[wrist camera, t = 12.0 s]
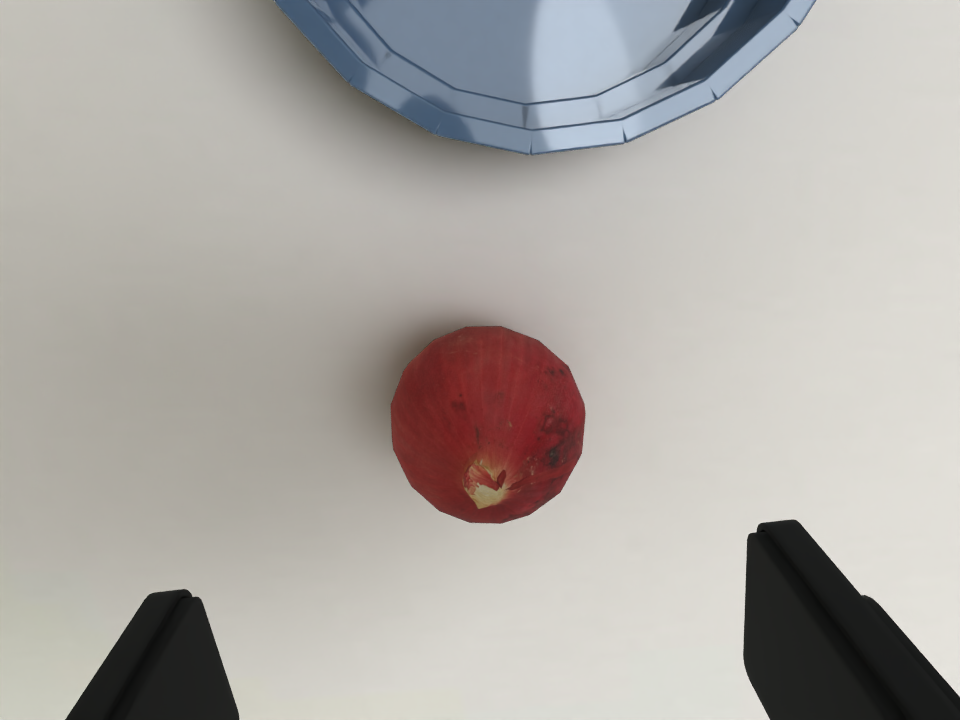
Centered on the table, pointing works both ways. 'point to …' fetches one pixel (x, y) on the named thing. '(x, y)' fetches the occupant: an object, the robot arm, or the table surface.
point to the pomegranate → (487, 424)
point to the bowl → (545, 62)
